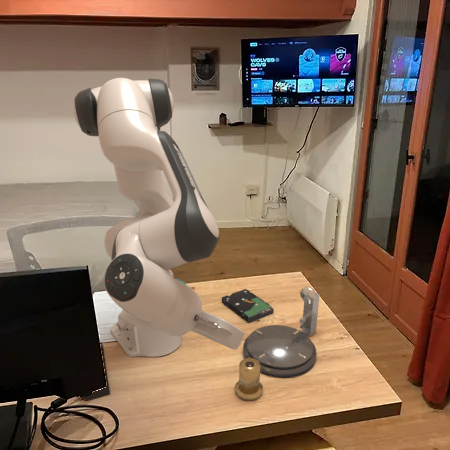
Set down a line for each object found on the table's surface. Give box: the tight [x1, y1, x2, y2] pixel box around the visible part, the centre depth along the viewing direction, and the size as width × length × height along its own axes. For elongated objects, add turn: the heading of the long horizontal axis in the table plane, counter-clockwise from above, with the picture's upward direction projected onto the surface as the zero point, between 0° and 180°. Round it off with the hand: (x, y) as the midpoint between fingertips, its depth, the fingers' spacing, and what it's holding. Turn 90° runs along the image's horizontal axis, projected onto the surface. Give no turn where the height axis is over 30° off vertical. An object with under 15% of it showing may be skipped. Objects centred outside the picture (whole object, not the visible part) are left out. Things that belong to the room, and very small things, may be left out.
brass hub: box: [234, 358, 264, 402], centre depth 109 cm, size 7×7×8 cm
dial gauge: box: [299, 286, 320, 337], centre depth 130 cm, size 5×6×16 cm
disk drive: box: [221, 288, 275, 324], centre depth 146 cm, size 10×3×15 cm
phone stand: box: [83, 341, 111, 402], centre depth 110 cm, size 9×6×12 cm, turn 23°
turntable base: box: [242, 335, 317, 379], centre depth 125 cm, size 20×20×2 cm
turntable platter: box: [247, 324, 314, 370], centre depth 124 cm, size 18×18×2 cm
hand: (210, 331), depth 90 cm, fingers open, 8 cm apart
